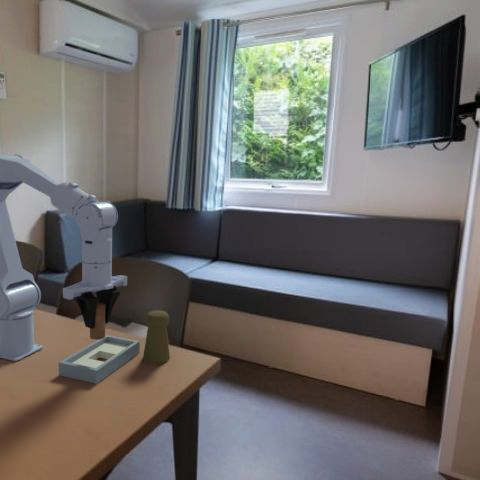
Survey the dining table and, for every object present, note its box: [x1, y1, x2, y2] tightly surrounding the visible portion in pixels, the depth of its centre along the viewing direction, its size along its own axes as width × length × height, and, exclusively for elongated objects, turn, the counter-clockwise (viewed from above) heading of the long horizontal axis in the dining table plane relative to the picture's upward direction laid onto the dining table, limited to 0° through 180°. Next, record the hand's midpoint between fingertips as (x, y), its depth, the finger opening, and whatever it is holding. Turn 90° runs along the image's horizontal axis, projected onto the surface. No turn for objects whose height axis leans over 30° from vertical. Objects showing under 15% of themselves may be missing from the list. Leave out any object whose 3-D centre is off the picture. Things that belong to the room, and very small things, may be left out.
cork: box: [142, 309, 171, 365], centre depth 94 cm, size 6×6×11 cm
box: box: [58, 334, 141, 385], centre depth 91 cm, size 9×16×3 cm, turn 162°
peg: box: [89, 302, 106, 341], centre depth 87 cm, size 3×3×7 cm
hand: (97, 324), depth 87 cm, fingers closed on peg, 3 cm apart
